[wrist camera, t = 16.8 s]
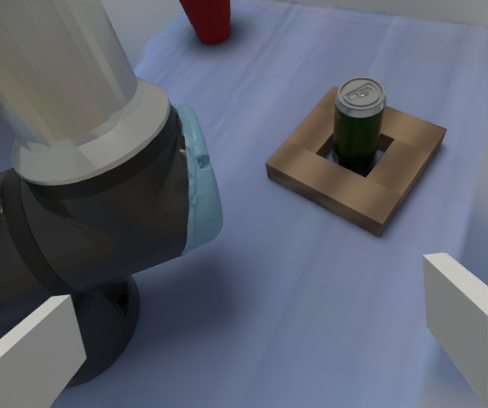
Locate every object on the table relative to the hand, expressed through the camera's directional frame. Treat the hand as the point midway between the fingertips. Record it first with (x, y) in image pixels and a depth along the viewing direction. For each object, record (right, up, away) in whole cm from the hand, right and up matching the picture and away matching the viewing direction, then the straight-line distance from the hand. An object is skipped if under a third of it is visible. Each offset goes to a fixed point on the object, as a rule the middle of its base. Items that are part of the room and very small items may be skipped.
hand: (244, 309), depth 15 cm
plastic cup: (-5, +34, +57) cm, 66 cm away
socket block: (+14, +9, +37) cm, 41 cm away
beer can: (+14, +9, +37) cm, 41 cm away
